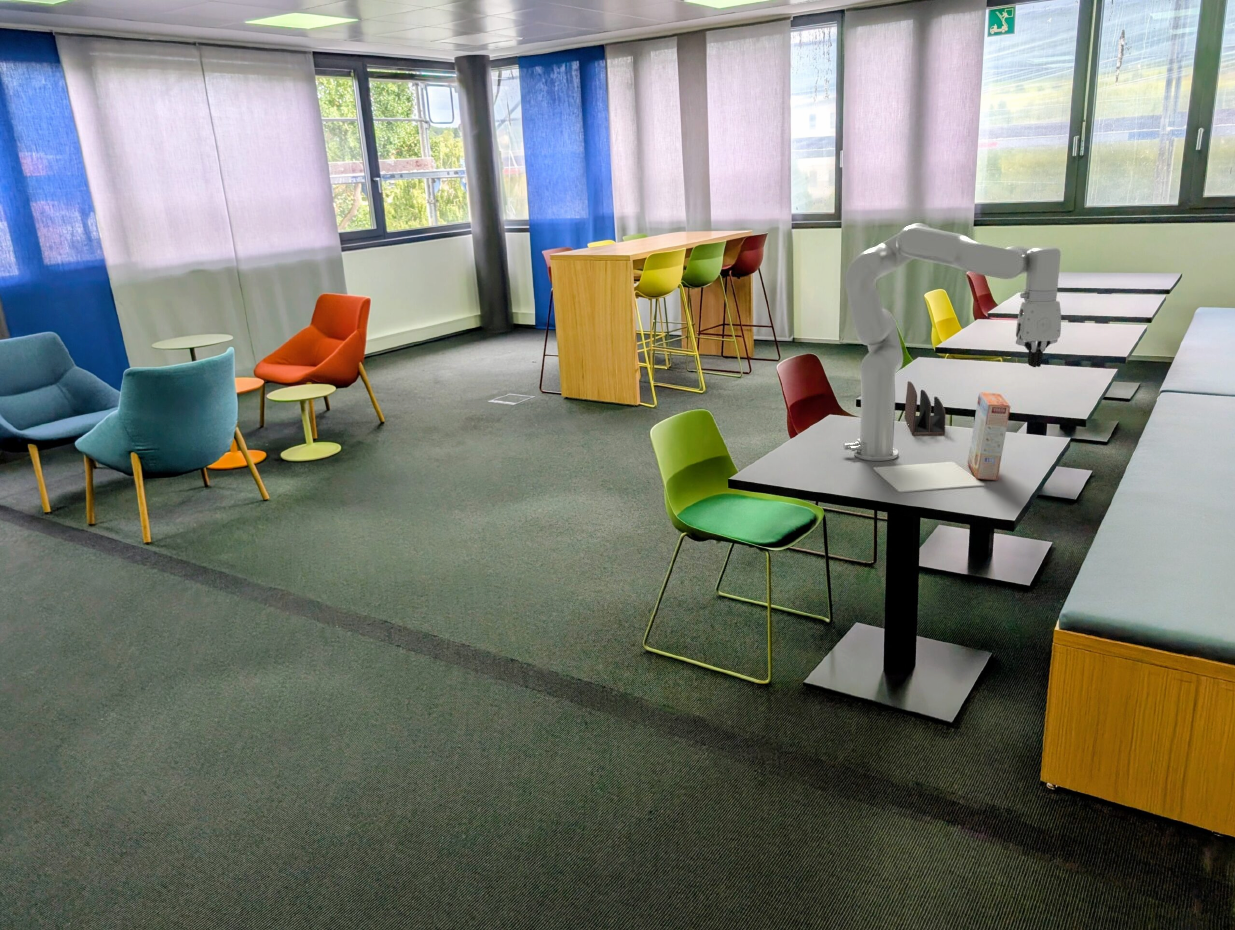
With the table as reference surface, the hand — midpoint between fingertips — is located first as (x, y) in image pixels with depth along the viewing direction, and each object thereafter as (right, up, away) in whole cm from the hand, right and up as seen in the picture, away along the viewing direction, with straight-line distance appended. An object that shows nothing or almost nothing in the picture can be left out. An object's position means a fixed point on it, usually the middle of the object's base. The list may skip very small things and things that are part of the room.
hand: (1034, 365), depth 241 cm
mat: (-26, -30, +8) cm, 40 cm away
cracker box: (-10, -28, +8) cm, 31 cm away
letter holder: (-11, -14, +53) cm, 56 cm away
